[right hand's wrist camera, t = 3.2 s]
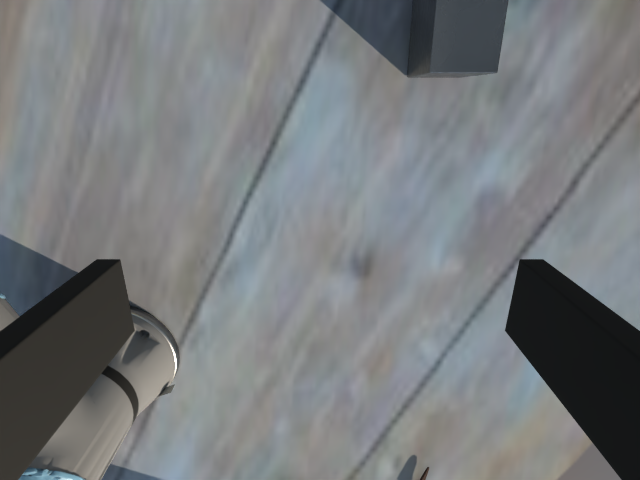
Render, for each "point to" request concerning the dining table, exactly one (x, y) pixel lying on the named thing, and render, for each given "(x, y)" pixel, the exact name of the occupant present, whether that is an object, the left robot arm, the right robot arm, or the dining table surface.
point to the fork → (424, 474)
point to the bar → (456, 37)
